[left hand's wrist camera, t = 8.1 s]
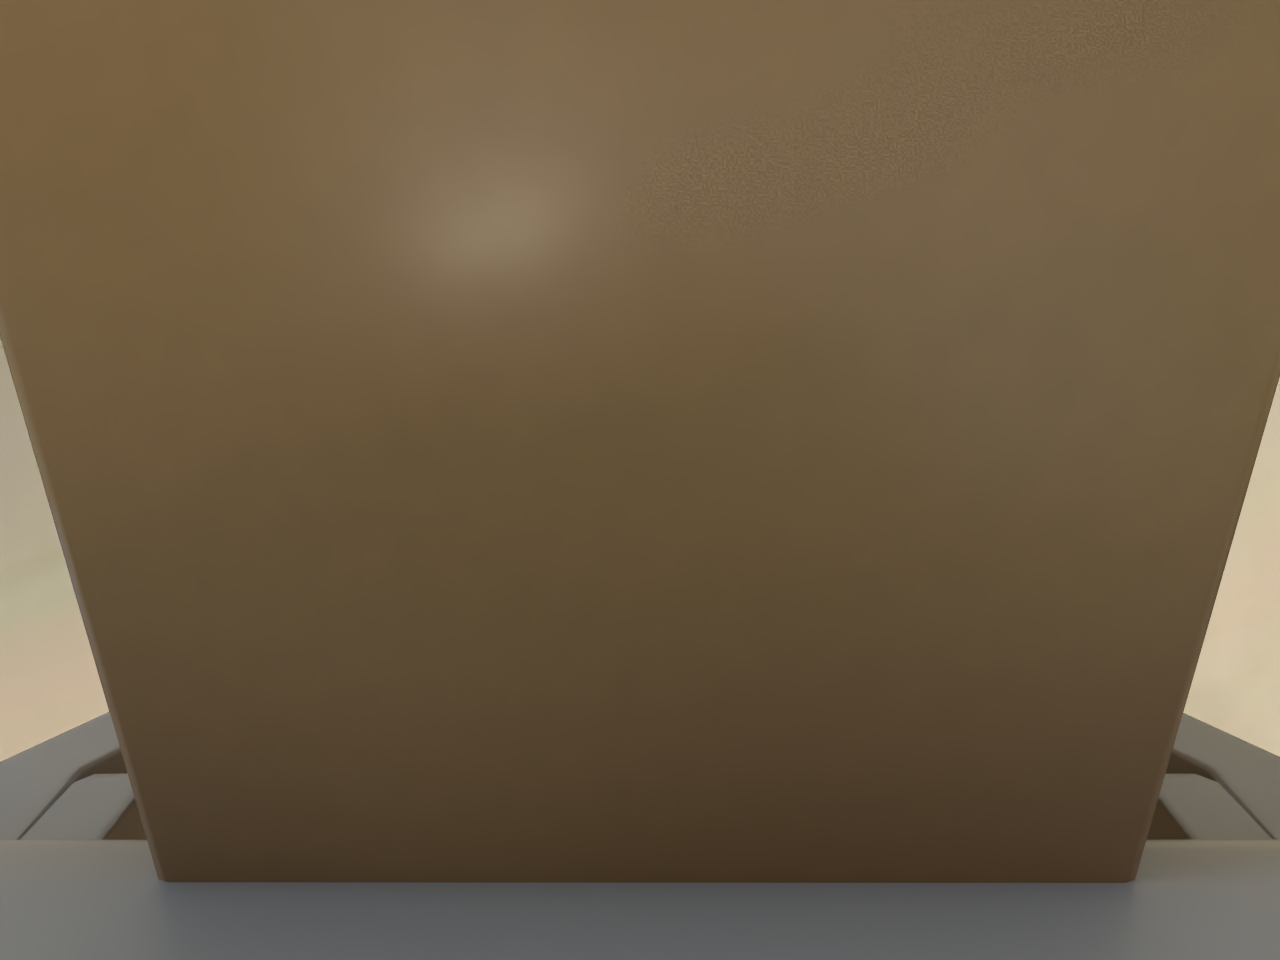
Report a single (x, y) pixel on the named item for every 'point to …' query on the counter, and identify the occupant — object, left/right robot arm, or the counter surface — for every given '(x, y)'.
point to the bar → (643, 420)
